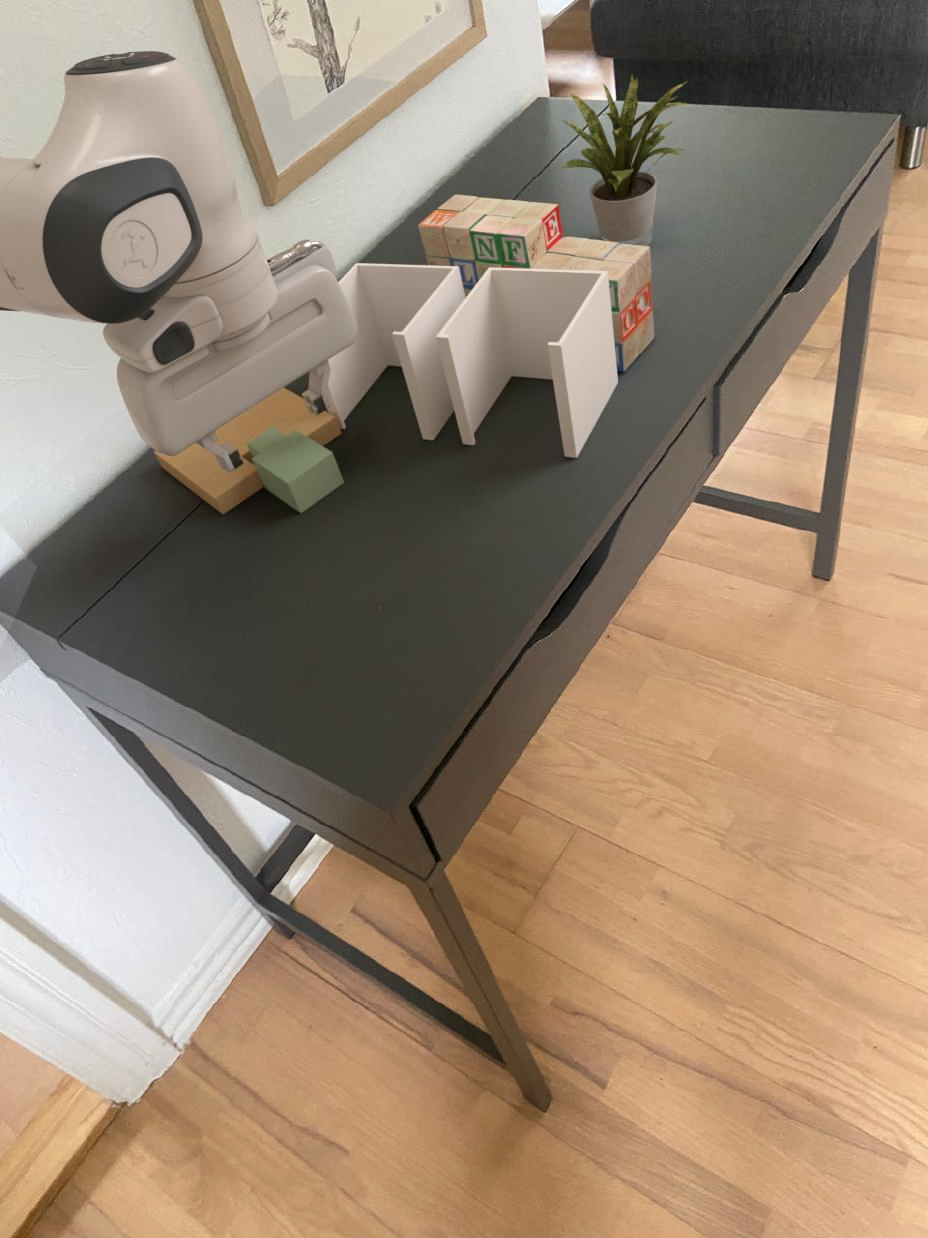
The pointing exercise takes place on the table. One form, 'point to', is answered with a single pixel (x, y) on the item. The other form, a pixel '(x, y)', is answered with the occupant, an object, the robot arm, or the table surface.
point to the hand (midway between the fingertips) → (277, 437)
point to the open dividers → (478, 342)
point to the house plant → (623, 165)
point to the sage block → (294, 467)
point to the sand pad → (246, 449)
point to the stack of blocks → (542, 257)
